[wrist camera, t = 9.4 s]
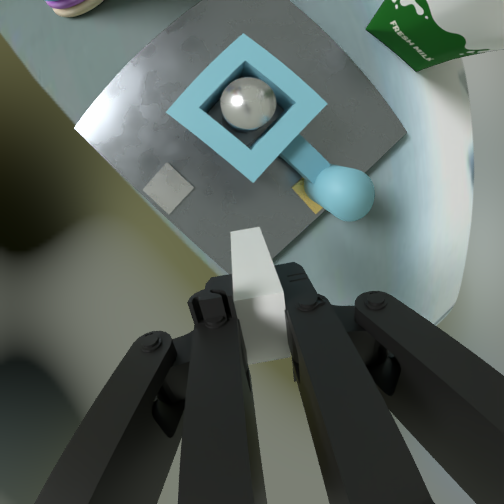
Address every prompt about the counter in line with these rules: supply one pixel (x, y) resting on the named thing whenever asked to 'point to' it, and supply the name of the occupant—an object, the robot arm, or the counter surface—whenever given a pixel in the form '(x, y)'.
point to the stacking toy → (72, 6)
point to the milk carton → (439, 29)
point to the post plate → (212, 175)
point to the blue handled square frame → (272, 129)
